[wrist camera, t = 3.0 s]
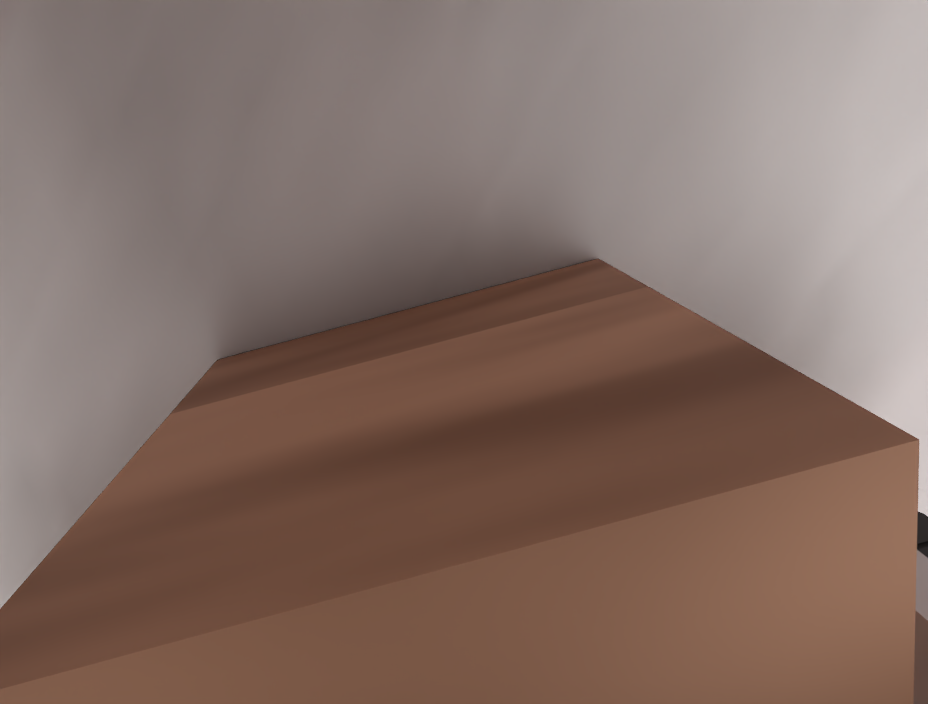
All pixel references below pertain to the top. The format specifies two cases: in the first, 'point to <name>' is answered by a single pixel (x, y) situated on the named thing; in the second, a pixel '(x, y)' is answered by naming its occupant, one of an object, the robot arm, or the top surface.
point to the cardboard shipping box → (491, 523)
